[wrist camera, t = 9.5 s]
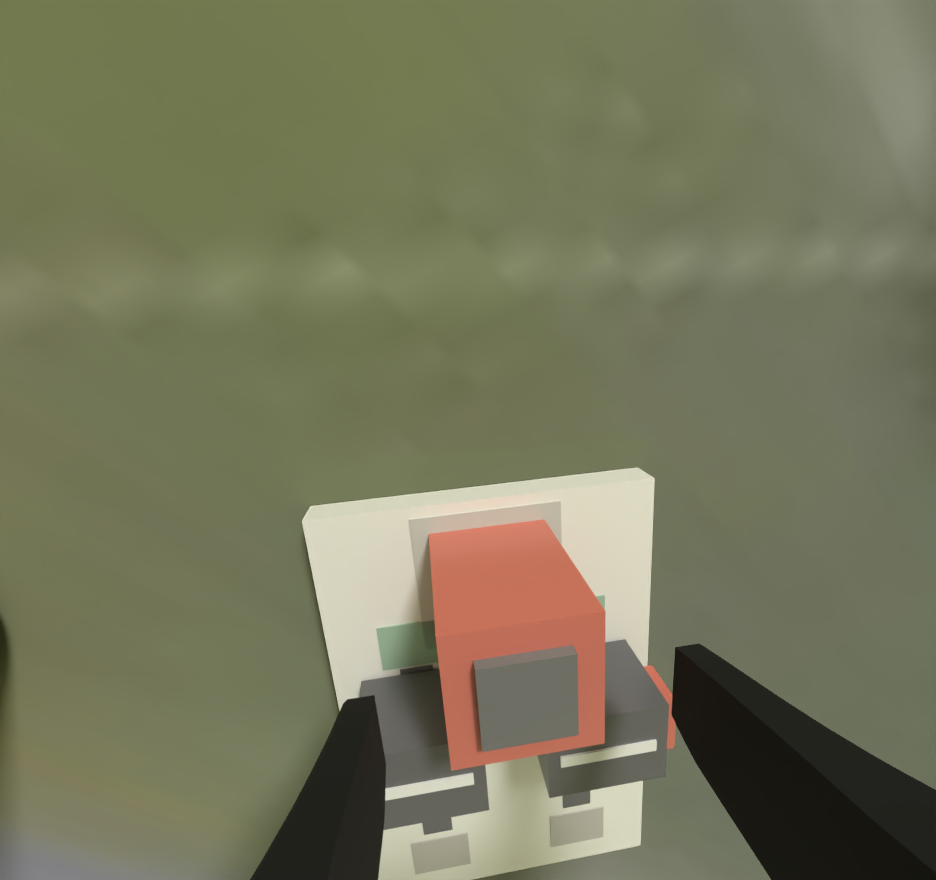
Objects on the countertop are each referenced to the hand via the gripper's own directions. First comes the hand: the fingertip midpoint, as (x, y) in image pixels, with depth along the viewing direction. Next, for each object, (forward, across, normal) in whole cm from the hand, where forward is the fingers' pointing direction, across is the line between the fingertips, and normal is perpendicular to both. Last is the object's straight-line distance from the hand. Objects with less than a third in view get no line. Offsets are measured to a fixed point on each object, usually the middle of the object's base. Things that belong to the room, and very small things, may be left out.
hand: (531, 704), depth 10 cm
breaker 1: (+5, +3, +5) cm, 8 cm away
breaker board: (+7, 0, +6) cm, 9 cm away
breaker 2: (+5, -3, +5) cm, 8 cm away
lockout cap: (+5, 0, 0) cm, 5 cm away
